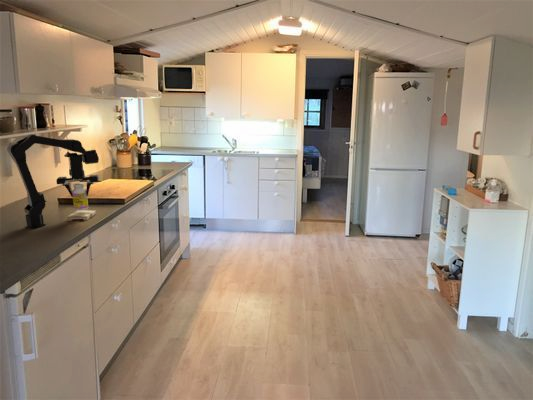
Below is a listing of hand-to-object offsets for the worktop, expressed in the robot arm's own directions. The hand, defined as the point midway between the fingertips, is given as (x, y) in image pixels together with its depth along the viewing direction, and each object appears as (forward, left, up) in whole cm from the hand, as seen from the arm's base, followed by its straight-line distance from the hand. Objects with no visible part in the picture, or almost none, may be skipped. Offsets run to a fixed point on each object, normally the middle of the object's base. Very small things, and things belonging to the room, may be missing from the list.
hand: (79, 196), depth 218 cm
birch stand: (0, 0, -11) cm, 11 cm away
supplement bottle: (0, 0, -7) cm, 7 cm away
